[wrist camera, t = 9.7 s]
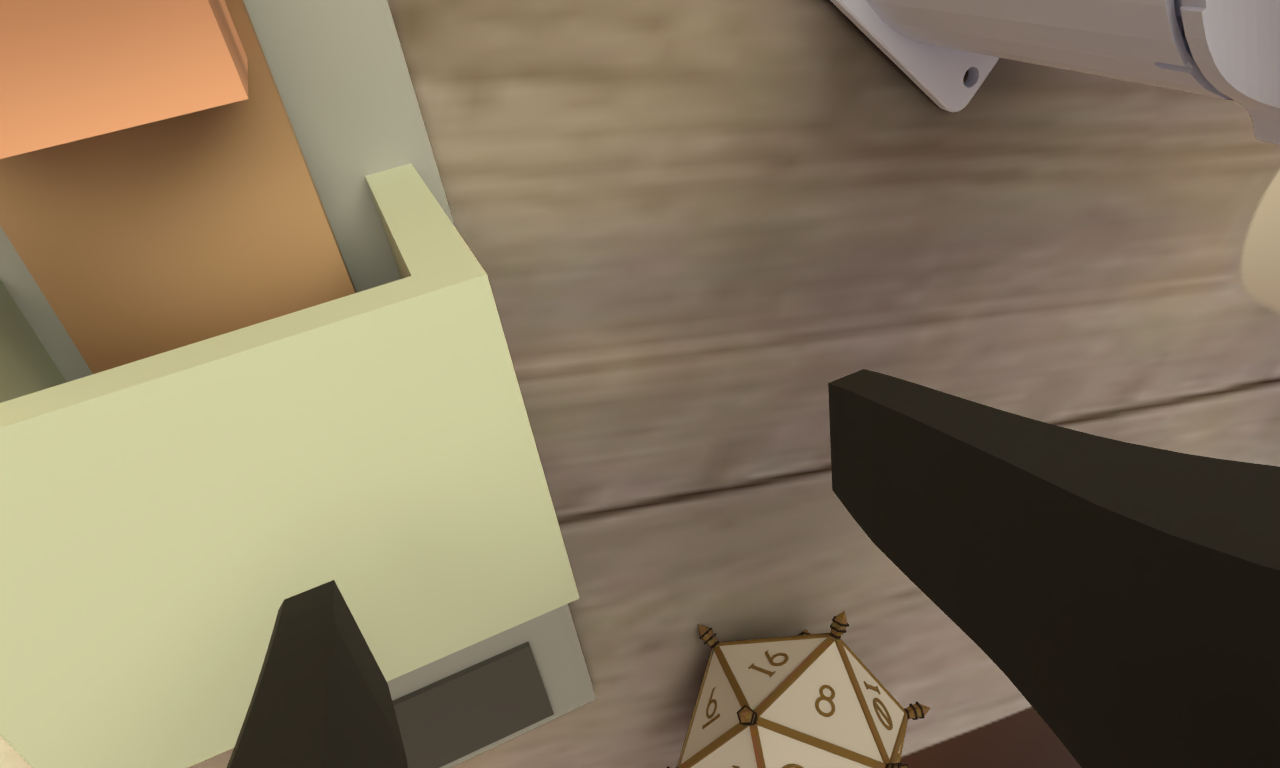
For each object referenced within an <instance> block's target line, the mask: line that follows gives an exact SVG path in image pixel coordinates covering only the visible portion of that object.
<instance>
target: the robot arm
mask: <svg viewBox="0 0 1280 768" xmlns="http://www.w3.org/2000/svg"><path fill="white" fill-rule="evenodd" d="M830 1H831V2H832V3H833V4H834V5H835V6H836V7H837V8H838V9H839V10H840V11H841V12H842V13H843V14H844V15H846V16H847V17H848V18H849V19H850V20H851V21H852V22H853V23H854V24H855V25H856V26H857V27H858V28H859V29H860V30H861V31H862V32H863V33H864V34H865V35H866V36H867V37H868V38H869V39H870V40H871V41H872V42H873V43H874V44H875V45H876V46H877V47H878V48H879V49H880V50H881V51H882V52H883V53H884V54H885V55H886V56H887V57H888V58H890V59H891V60H892V61H893V62H894V63H895V64H896V65H897V66H898V67H899V68H900V69H901V70H902V71H903V72H904V73H905V74H906V75H907V76H908V77H909V78H910V79H911V80H912V81H913V82H914V83H915V84H916V85H917V86H918V87H919V88H920V89H921V90H922V91H923V92H924V93H925V94H926V95H927V96H928V97H929V98H930V99H931V100H932V101H933V102H935V103H936V104H937V105H938V106H939V107H940V108H941V109H943V110H945V111H949V112H958V111H960V110H962V109H964V108H965V106H966V105H967V104H968V103H969V102H970V100H971V99H972V97H973V96H974V94H975V93H976V92H977V90H978V89H979V87H980V86H981V84H982V83H983V81H984V80H985V79H986V77H987V76H988V74H989V73H990V71H991V70H992V68H993V67H994V66H995V64H996V63H997V61H998V60H999V58H1005V59H1010V60H1016V61H1021V62H1027V63H1032V64H1037V65H1043V66H1048V67H1054V68H1059V69H1064V70H1070V71H1075V72H1081V73H1086V74H1091V75H1097V76H1102V77H1108V78H1113V79H1118V80H1124V81H1129V82H1135V83H1140V84H1145V85H1151V86H1156V87H1162V88H1167V89H1172V90H1178V91H1183V92H1189V93H1194V94H1199V95H1205V96H1210V97H1216V98H1221V99H1227V100H1235V101H1237V102H1238V103H1240V104H1241V105H1243V106H1244V107H1245V108H1246V110H1247V111H1248V112H1249V114H1250V116H1251V119H1252V121H1253V128H1254V135H1255V138H1256V140H1259V141H1263V142H1268V143H1272V144H1277V145H1280V0H830ZM967 70H969V74H968V77H967V80H966V81H965V82H964V83H963V79H964V75H965V73H966V71H967ZM828 385H829V411H830V438H831V464H832V490H833V491H834V493H835V494H836V495H837V497H838V498H839V499H840V501H841V502H842V503H843V505H844V506H845V507H846V509H847V510H848V511H849V513H850V514H851V515H852V517H853V518H854V519H855V520H856V522H857V523H858V524H859V525H860V527H861V528H862V529H863V530H864V532H865V533H866V534H867V535H868V537H869V538H870V539H871V540H872V542H873V543H874V544H875V545H876V546H877V547H878V548H879V549H880V550H881V551H882V552H883V553H884V554H885V555H886V556H887V557H888V558H889V559H890V560H891V561H892V562H893V563H894V564H895V565H896V566H897V567H898V568H899V569H900V570H901V571H902V572H903V573H904V574H905V575H906V576H907V577H908V578H909V579H910V580H911V581H912V582H913V583H914V584H915V585H916V586H917V587H918V588H920V589H921V590H922V591H923V592H924V593H925V594H926V595H927V596H928V597H929V598H930V599H931V600H932V601H933V602H934V603H935V604H936V605H937V606H938V607H939V608H940V609H941V610H942V611H943V612H944V613H945V614H946V615H947V616H948V617H949V618H950V619H951V620H952V621H953V622H954V623H955V624H956V625H957V626H959V627H960V628H961V629H962V630H963V631H964V632H965V633H966V634H967V635H968V636H969V637H970V638H971V639H972V640H973V641H974V642H975V643H976V644H977V645H978V646H979V647H980V648H981V649H982V650H983V651H984V652H985V653H986V654H987V655H988V656H989V657H990V658H991V660H992V661H993V662H994V663H995V664H996V665H997V666H998V667H999V668H1000V669H1001V670H1002V671H1003V672H1004V673H1005V674H1006V676H1007V677H1008V678H1009V679H1010V680H1011V682H1012V683H1013V684H1014V685H1015V686H1016V688H1017V689H1018V690H1019V691H1020V692H1021V693H1022V695H1023V696H1024V697H1025V698H1026V699H1027V701H1028V702H1029V703H1030V704H1031V705H1032V707H1033V708H1034V709H1035V710H1036V711H1037V713H1038V714H1039V715H1040V716H1041V717H1042V718H1043V719H1044V721H1045V722H1046V723H1047V724H1048V726H1049V727H1050V728H1051V729H1052V730H1053V732H1054V733H1055V734H1056V735H1057V737H1058V738H1059V739H1060V741H1061V742H1062V743H1063V744H1064V745H1065V747H1066V748H1067V749H1068V750H1069V752H1070V753H1071V754H1072V756H1073V757H1074V758H1075V759H1076V761H1077V762H1078V763H1079V764H1080V766H1081V767H1082V768H1280V467H1277V466H1269V465H1261V464H1253V463H1245V462H1237V461H1230V460H1222V459H1215V458H1209V457H1202V456H1196V455H1189V454H1184V453H1178V452H1173V451H1168V450H1162V449H1157V448H1152V447H1147V446H1141V445H1136V444H1131V443H1126V442H1121V441H1117V440H1112V439H1108V438H1103V437H1099V436H1095V435H1091V434H1087V433H1083V432H1079V431H1075V430H1071V429H1067V428H1063V427H1059V426H1055V425H1051V424H1047V423H1044V422H1040V421H1037V420H1033V419H1029V418H1026V417H1022V416H1019V415H1015V414H1012V413H1008V412H1005V411H1002V410H998V409H995V408H992V407H988V406H985V405H982V404H979V403H975V402H972V401H969V400H966V399H962V398H959V397H956V396H953V395H950V394H946V393H943V392H940V391H937V390H934V389H931V388H927V387H924V386H921V385H918V384H915V383H911V382H908V381H905V380H902V379H898V378H895V377H891V376H888V375H884V374H881V373H877V372H873V371H869V370H865V369H863V370H860V371H858V372H855V373H853V374H850V375H848V376H845V377H843V378H840V379H838V380H835V381H833V382H830V383H828ZM227 768H408V765H407V757H406V753H405V749H404V745H403V741H402V737H401V733H400V729H399V725H398V721H397V717H396V713H395V709H394V706H393V702H392V698H391V694H390V690H389V686H388V683H387V681H386V679H385V678H384V676H383V674H382V672H381V670H380V668H379V666H378V664H377V662H376V660H375V658H374V656H373V654H372V652H371V650H370V648H369V646H368V645H367V643H366V641H365V639H364V637H363V635H362V633H361V631H360V629H359V627H358V625H357V623H356V621H355V619H354V617H353V615H352V614H351V612H350V610H349V608H348V606H347V604H346V602H345V600H344V598H343V596H342V594H341V592H340V590H339V588H338V586H337V584H336V583H335V581H334V580H332V581H330V582H327V583H325V584H322V585H320V586H317V587H315V588H312V589H310V590H307V591H305V592H302V593H300V594H297V595H295V596H292V597H290V598H287V599H285V600H284V601H283V603H282V605H281V606H280V608H279V610H278V614H277V617H276V621H275V625H274V628H273V632H272V635H271V639H270V642H269V646H268V649H267V652H266V656H265V659H264V662H263V665H262V669H261V672H260V675H259V678H258V681H257V684H256V687H255V690H254V693H253V696H252V699H251V702H250V705H249V708H248V711H247V714H246V716H245V719H244V722H243V725H242V727H241V730H240V733H239V736H238V739H237V741H236V744H235V747H234V750H233V753H232V755H231V758H230V761H229V763H228V766H227Z"/></svg>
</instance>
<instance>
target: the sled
mask: <svg viewBox="0 0 1280 768" xmlns="http://www.w3.org/2000/svg"><path fill="white" fill-rule="evenodd" d="M0 226H1V227H2V229H3V230H4V232H5V234H6V235H7V237H8V238H9V240H10V242H11V243H12V245H13V246H14V248H15V250H16V251H17V253H18V254H19V256H20V258H21V259H22V261H23V262H24V264H25V266H26V267H27V269H28V271H29V272H30V274H31V275H32V277H33V279H34V280H35V282H36V283H37V285H38V287H39V288H40V290H41V291H42V293H43V295H44V296H45V298H46V299H47V301H48V303H49V304H50V306H51V307H52V309H53V311H54V312H55V314H56V315H57V317H58V319H59V320H60V322H61V323H62V325H63V327H64V328H65V330H66V331H67V333H68V335H69V336H70V338H71V339H72V341H73V343H74V344H75V346H76V347H77V349H78V351H79V352H80V354H81V355H82V357H83V359H84V360H85V362H86V363H87V365H88V367H89V368H90V370H91V371H92V373H93V374H96V373H99V372H102V371H105V370H109V369H112V368H115V367H118V366H122V365H125V364H128V363H131V362H135V361H138V360H141V359H144V358H148V357H151V356H154V355H157V354H160V353H164V352H167V351H170V350H173V349H177V348H180V347H183V346H186V345H190V344H193V343H196V342H199V341H202V340H206V339H209V338H212V337H215V336H219V335H222V334H225V333H228V332H232V331H235V330H238V329H241V328H245V327H248V326H251V325H254V324H257V323H261V322H264V321H267V320H270V319H274V318H277V317H280V316H283V315H287V314H290V313H293V312H296V311H300V310H303V309H306V308H309V307H312V306H316V305H319V304H322V303H325V302H329V301H332V300H335V299H338V298H342V297H345V296H348V295H351V294H355V293H357V292H356V289H355V287H354V284H353V281H352V279H351V276H350V274H349V271H348V269H347V266H346V263H345V261H344V258H343V256H342V253H341V251H340V248H339V245H338V243H337V240H336V238H335V235H334V233H333V230H332V227H331V225H330V222H329V220H328V217H327V214H326V212H325V209H324V207H323V204H322V202H321V199H320V196H319V194H318V191H317V189H316V186H315V184H314V181H313V178H312V176H311V173H310V171H309V168H308V166H307V163H306V160H305V158H304V155H303V153H302V150H301V147H300V145H299V142H298V140H297V137H296V135H295V132H294V129H293V127H292V124H291V122H290V119H289V117H288V114H287V111H286V109H285V106H284V104H283V101H282V99H281V96H280V93H279V91H278V88H277V86H276V83H275V80H274V78H273V75H272V73H271V70H270V68H269V65H268V62H267V60H266V57H265V55H264V52H263V50H262V47H261V44H260V42H259V39H258V37H257V34H256V32H255V29H254V26H253V24H252V21H251V19H250V16H249V13H248V11H247V8H246V6H245V3H244V1H243V0H0Z"/></svg>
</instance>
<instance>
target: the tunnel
mask: <svg viewBox="0 0 1280 768" xmlns="http://www.w3.org/2000/svg"><path fill="white" fill-rule="evenodd" d="M365 178H366V181H367V183H368V186H369V189H370V192H371V195H372V198H373V200H374V203H375V206H376V209H377V212H378V215H379V218H380V220H381V223H382V226H383V229H384V232H385V235H386V238H387V240H388V243H389V246H390V249H391V252H392V255H393V257H394V260H395V263H396V266H397V269H398V272H399V275H400V277H401V279H400V280H397V281H393V282H390V283H387V284H384V285H380V286H377V287H374V288H371V289H367V290H364V291H361V292H358V293H355V294H351V295H348V296H345V297H342V298H338V299H335V300H332V301H329V302H325V303H322V304H319V305H316V306H312V307H309V308H306V309H303V310H300V311H296V312H293V313H290V314H287V315H283V316H280V317H277V318H274V319H270V320H267V321H264V322H261V323H257V324H254V325H251V326H248V327H245V328H241V329H238V330H235V331H232V332H228V333H225V334H222V335H219V336H215V337H212V338H209V339H206V340H202V341H199V342H196V343H193V344H190V345H186V346H183V347H180V348H177V349H173V350H170V351H167V352H164V353H160V354H157V355H154V356H151V357H148V358H144V359H141V360H138V361H135V362H131V363H128V364H125V365H122V366H118V367H115V368H112V369H109V370H105V371H102V372H99V373H96V374H93V375H89V376H86V377H83V378H80V379H76V380H73V381H70V382H67V381H66V380H65V378H64V377H63V375H62V374H61V372H60V371H59V369H58V368H57V366H56V365H55V363H54V361H53V360H52V358H51V357H50V355H49V354H48V352H47V351H46V349H45V348H44V346H43V345H42V343H41V341H40V340H39V338H38V337H37V335H36V334H35V332H34V331H33V329H32V328H31V326H30V324H29V323H28V321H27V320H26V318H25V317H24V315H23V314H22V312H21V311H20V309H19V308H18V306H17V304H16V303H15V301H14V300H13V298H12V297H11V295H10V294H9V292H8V291H7V289H6V288H5V286H4V284H3V283H2V281H1V280H0V735H1V736H2V737H3V738H4V739H5V740H6V741H7V742H8V744H9V745H10V746H11V747H12V748H13V749H14V750H15V751H16V752H17V753H18V754H19V755H20V756H21V757H22V758H23V759H24V760H25V761H26V762H27V763H28V764H29V765H30V766H31V767H32V768H188V767H191V766H193V765H195V764H197V763H200V762H202V761H204V760H207V759H209V758H211V757H214V756H216V755H218V754H221V753H223V752H225V751H228V750H230V749H232V748H234V747H235V744H236V741H237V739H238V736H239V733H240V730H241V727H242V725H243V722H244V719H245V716H246V714H247V711H248V708H249V705H250V702H251V699H252V696H253V693H254V690H255V687H256V684H257V681H258V678H259V675H260V672H261V669H262V665H263V662H264V659H265V656H266V652H267V649H268V646H269V642H270V639H271V635H272V632H273V628H274V625H275V621H276V617H277V614H278V610H279V608H280V606H281V605H282V603H283V601H284V600H285V599H287V598H290V597H292V596H295V595H297V594H300V593H302V592H305V591H307V590H310V589H312V588H315V587H317V586H320V585H322V584H325V583H327V582H330V581H332V580H334V581H335V583H336V584H337V586H338V588H339V590H340V592H341V594H342V596H343V598H344V600H345V602H346V604H347V606H348V608H349V610H350V612H351V614H352V615H353V617H354V619H355V621H356V623H357V625H358V627H359V629H360V631H361V633H362V635H363V637H364V639H365V641H366V643H367V645H368V646H369V648H370V650H371V652H372V654H373V656H374V658H375V660H376V662H377V664H378V666H379V668H380V670H381V672H382V674H383V676H384V678H385V679H386V681H390V680H392V679H394V678H397V677H399V676H401V675H404V674H406V673H408V672H411V671H413V670H415V669H418V668H420V667H422V666H424V665H427V664H429V663H431V662H434V661H436V660H438V659H441V658H443V657H445V656H448V655H450V654H452V653H455V652H457V651H459V650H462V649H464V648H466V647H468V646H471V645H473V644H475V643H478V642H480V641H482V640H485V639H487V638H489V637H492V636H494V635H496V634H499V633H501V632H503V631H506V630H508V629H510V628H512V627H515V626H517V625H519V624H522V623H524V622H526V621H529V620H531V619H533V618H536V617H538V616H540V615H543V614H545V613H547V612H550V611H552V610H554V609H557V608H559V607H561V606H563V605H566V604H568V603H570V602H573V601H575V600H577V599H580V598H579V594H578V591H577V587H576V584H575V580H574V577H573V573H572V570H571V566H570V563H569V559H568V556H567V552H566V549H565V545H564V542H563V538H562V535H561V531H560V528H559V524H558V521H557V517H556V514H555V510H554V507H553V503H552V500H551V496H550V493H549V489H548V486H547V482H546V479H545V475H544V472H543V468H542V465H541V462H540V458H539V455H538V451H537V448H536V444H535V441H534V437H533V434H532V430H531V427H530V423H529V420H528V416H527V413H526V409H525V406H524V402H523V399H522V395H521V392H520V388H519V385H518V381H517V378H516V374H515V371H514V367H513V364H512V360H511V357H510V353H509V350H508V346H507V343H506V339H505V336H504V332H503V329H502V325H501V322H500V318H499V315H498V311H497V308H496V304H495V301H494V297H493V294H492V290H491V287H490V283H489V280H488V276H487V274H486V272H485V271H484V269H483V268H482V266H481V265H480V264H479V262H478V261H477V259H476V258H475V256H474V255H473V253H472V252H471V250H470V249H469V247H468V246H467V244H466V243H465V241H464V240H463V239H462V237H461V236H460V234H459V233H458V231H457V230H456V228H455V227H454V225H453V224H452V222H451V221H450V219H449V218H448V216H447V215H446V214H445V212H444V211H443V209H442V208H441V206H440V205H439V203H438V202H437V200H436V199H435V197H434V196H433V194H432V193H431V191H430V190H429V189H428V187H427V186H426V184H425V183H424V181H423V180H422V178H421V177H420V175H419V174H418V172H417V171H416V169H415V168H414V167H413V165H412V164H407V165H403V166H400V167H396V168H393V169H389V170H385V171H382V172H378V173H374V174H371V175H367V176H365Z"/></svg>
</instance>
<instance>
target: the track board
mask: <svg viewBox="0 0 1280 768" xmlns="http://www.w3.org/2000/svg"><path fill="white" fill-rule="evenodd" d="M243 1H244V3H245V6H246V8H247V11H248V13H249V16H250V19H251V21H252V24H253V26H254V29H255V32H256V34H257V37H258V39H259V42H260V44H261V47H262V50H263V52H264V55H265V57H266V60H267V62H268V65H269V68H270V70H271V73H272V75H273V78H274V80H275V83H276V86H277V88H278V91H279V93H280V96H281V99H282V101H283V104H284V106H285V109H286V111H287V114H288V117H289V119H290V122H291V124H292V127H293V129H294V132H295V135H296V137H297V140H298V142H299V145H300V147H301V150H302V153H303V155H304V158H305V160H306V163H307V166H308V168H309V171H310V173H311V176H312V178H313V181H314V184H315V186H316V189H317V191H318V194H319V196H320V199H321V202H322V204H323V207H324V209H325V212H326V214H327V217H328V220H329V222H330V225H331V227H332V230H333V233H334V235H335V238H336V240H337V243H338V245H339V248H340V251H341V253H342V256H343V258H344V261H345V263H346V266H347V269H348V271H349V274H350V276H351V279H352V281H353V284H354V287H355V289H356V292H357V293H358V292H361V291H364V290H367V289H371V288H374V287H377V286H380V285H384V284H387V283H390V282H393V281H397V280H400V279H401V277H400V275H399V272H398V269H397V266H396V263H395V260H394V257H393V255H392V252H391V249H390V246H389V243H388V240H387V238H386V235H385V232H384V229H383V226H382V223H381V220H380V218H379V215H378V212H377V209H376V206H375V203H374V200H373V198H372V195H371V192H370V189H369V186H368V183H367V181H366V178H365V176H367V175H371V174H374V173H378V172H382V171H385V170H389V169H393V168H396V167H400V166H403V165H407V164H412V165H413V167H414V168H415V169H416V171H417V172H418V174H419V175H420V177H421V178H422V180H423V181H424V183H425V184H426V186H427V187H428V189H429V190H430V191H431V193H432V194H433V196H434V197H435V199H436V200H437V202H438V203H439V205H440V206H441V208H442V209H443V211H444V212H445V214H446V215H447V216H448V218H449V219H450V221H451V222H452V224H453V225H454V222H453V219H452V215H451V212H450V209H449V205H448V202H447V199H446V195H445V192H444V189H443V185H442V182H441V179H440V175H439V172H438V169H437V165H436V162H435V159H434V155H433V152H432V149H431V145H430V142H429V139H428V135H427V132H426V129H425V125H424V122H423V119H422V115H421V112H420V109H419V105H418V102H417V98H416V95H415V92H414V88H413V85H412V82H411V78H410V75H409V72H408V68H407V65H406V62H405V58H404V55H403V52H402V48H401V45H400V42H399V38H398V35H397V32H396V28H395V25H394V22H393V18H392V15H391V12H390V8H389V5H388V2H387V0H243ZM454 227H455V225H454ZM0 280H1V281H2V283H3V284H4V286H5V288H6V289H7V291H8V292H9V294H10V295H11V297H12V298H13V300H14V301H15V303H16V304H17V306H18V308H19V309H20V311H21V312H22V314H23V315H24V317H25V318H26V320H27V321H28V323H29V324H30V326H31V328H32V329H33V331H34V332H35V334H36V335H37V337H38V338H39V340H40V341H41V343H42V345H43V346H44V348H45V349H46V351H47V352H48V354H49V355H50V357H51V358H52V360H53V361H54V363H55V365H56V366H57V368H58V369H59V371H60V372H61V374H62V375H63V377H64V378H65V380H66V381H67V382H70V381H73V380H76V379H80V378H83V377H86V376H89V375H93V373H92V371H91V370H90V368H89V367H88V365H87V363H86V362H85V360H84V359H83V357H82V355H81V354H80V352H79V351H78V349H77V347H76V346H75V344H74V343H73V341H72V339H71V338H70V336H69V335H68V333H67V331H66V330H65V328H64V327H63V325H62V323H61V322H60V320H59V319H58V317H57V315H56V314H55V312H54V311H53V309H52V307H51V306H50V304H49V303H48V301H47V299H46V298H45V296H44V295H43V293H42V291H41V290H40V288H39V287H38V285H37V283H36V282H35V280H34V279H33V277H32V275H31V274H30V272H29V271H28V269H27V267H26V266H25V264H24V262H23V261H22V259H21V258H20V256H19V254H18V253H17V251H16V250H15V248H14V246H13V245H12V243H11V242H10V240H9V238H8V237H7V235H6V234H5V232H4V230H3V229H2V227H1V226H0ZM525 642H529V644H530V647H531V650H532V653H533V655H534V658H535V661H536V664H537V667H538V670H539V673H540V675H541V678H542V681H543V684H544V687H545V690H546V693H547V695H548V698H549V701H550V704H551V707H552V710H553V712H554V715H552V716H550V717H548V718H545V719H543V720H541V721H539V722H537V723H535V724H533V725H530V726H528V727H526V728H524V729H522V730H520V731H517V732H515V733H513V734H511V735H509V736H507V737H505V738H502V739H500V740H498V741H496V742H494V743H492V744H490V745H487V746H485V747H483V748H481V749H479V750H477V751H475V752H472V753H470V754H468V755H466V756H464V757H462V758H460V759H457V760H455V761H453V762H451V763H449V764H447V765H444V766H442V767H440V768H451V767H453V766H455V765H458V764H460V763H462V762H464V761H466V760H468V759H470V758H473V757H475V756H477V755H479V754H481V753H483V752H485V751H488V750H490V749H492V748H494V747H496V746H498V745H500V744H503V743H505V742H507V741H509V740H511V739H513V738H515V737H518V736H520V735H522V734H524V733H526V732H528V731H530V730H532V729H535V728H537V727H539V726H541V725H543V724H545V723H547V722H550V721H552V720H554V719H556V718H558V717H560V716H562V715H565V714H567V713H569V712H571V711H573V710H575V709H577V708H580V707H582V706H584V705H586V704H588V703H590V702H592V701H595V700H597V699H596V696H595V693H594V689H593V686H592V683H591V679H590V676H589V673H588V669H587V666H586V663H585V659H584V656H583V653H582V649H581V646H580V643H579V639H578V636H577V633H576V629H575V626H574V623H573V619H572V616H571V613H570V609H569V606H568V604H566V605H563V606H561V607H559V608H557V609H554V610H552V611H550V612H547V613H545V614H543V615H540V616H538V617H536V618H533V619H531V620H529V621H526V622H524V623H522V624H519V625H517V626H515V627H512V628H510V629H508V630H506V631H503V632H501V633H499V634H496V635H494V636H492V637H489V638H487V639H485V640H482V641H480V642H478V643H475V644H473V645H471V646H468V647H466V648H464V649H462V650H459V651H457V652H455V653H452V654H450V655H448V656H445V657H443V658H441V659H438V660H436V661H434V662H431V663H429V664H427V665H424V666H422V667H420V668H418V669H415V670H413V671H411V672H408V673H406V674H404V675H401V676H399V677H397V678H394V679H392V680H390V681H387V683H388V686H389V690H390V694H391V698H392V701H393V700H395V699H398V698H400V697H402V696H404V695H407V694H409V693H411V692H414V691H416V690H418V689H420V688H423V687H425V686H427V685H430V684H432V683H434V682H436V681H439V680H441V679H443V678H445V677H448V676H450V675H452V674H455V673H457V672H459V671H461V670H464V669H466V668H468V667H471V666H473V665H475V664H477V663H480V662H482V661H484V660H487V659H489V658H491V657H493V656H496V655H498V654H500V653H503V652H505V651H507V650H509V649H512V648H514V647H516V646H518V645H521V644H523V643H525Z"/></svg>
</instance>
